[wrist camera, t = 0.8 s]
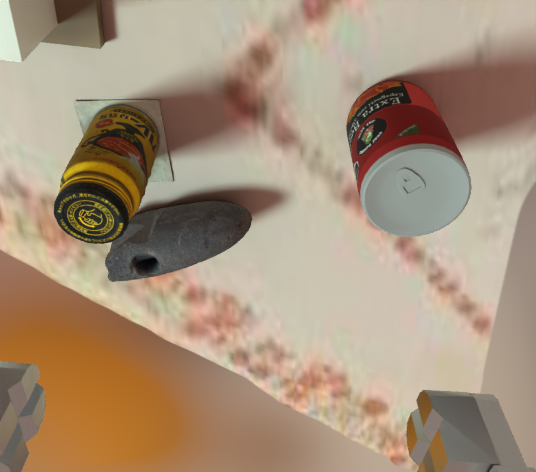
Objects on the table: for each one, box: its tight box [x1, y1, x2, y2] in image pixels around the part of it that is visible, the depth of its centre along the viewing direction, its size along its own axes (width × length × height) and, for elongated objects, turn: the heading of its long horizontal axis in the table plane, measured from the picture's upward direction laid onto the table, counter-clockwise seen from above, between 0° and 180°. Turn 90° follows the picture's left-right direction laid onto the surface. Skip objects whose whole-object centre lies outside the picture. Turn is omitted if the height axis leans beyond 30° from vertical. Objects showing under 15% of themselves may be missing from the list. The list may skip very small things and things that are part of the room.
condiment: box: [54, 100, 173, 244], centre depth 41 cm, size 7×8×12 cm
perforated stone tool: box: [105, 201, 252, 282], centre depth 48 cm, size 15×5×7 cm, turn 105°
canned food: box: [346, 80, 471, 237], centre depth 39 cm, size 8×8×11 cm
